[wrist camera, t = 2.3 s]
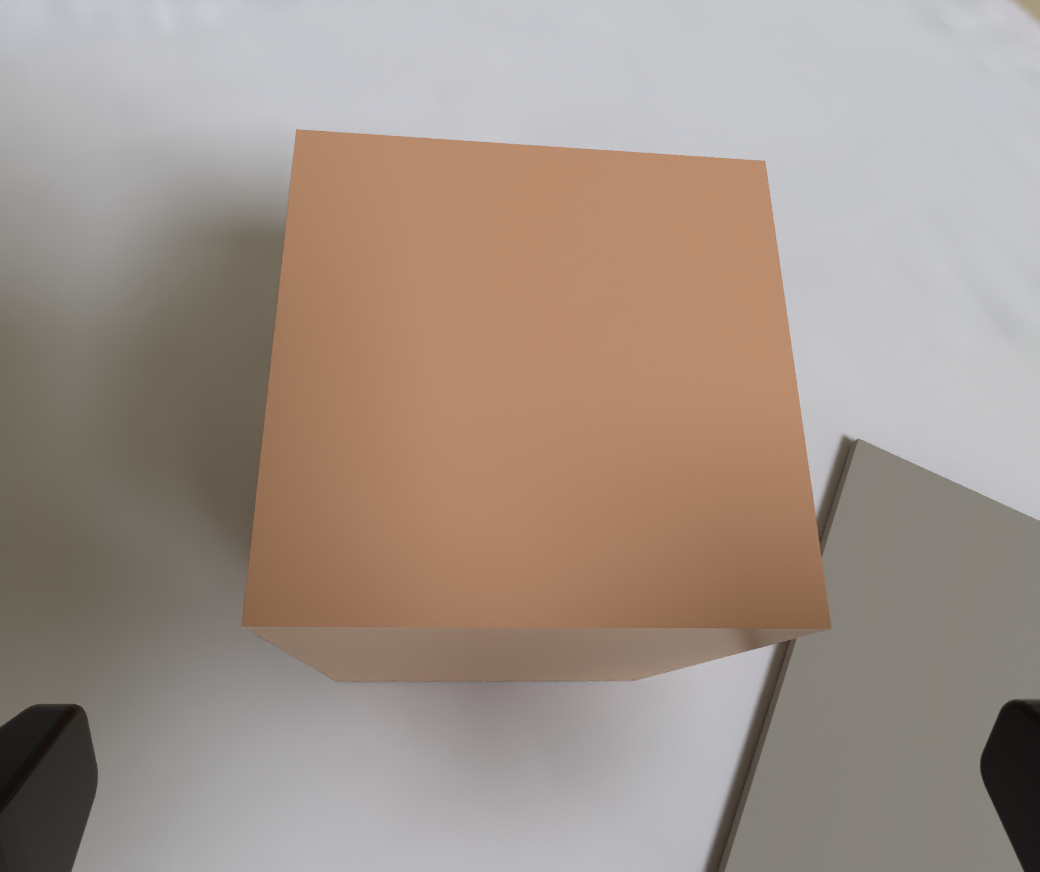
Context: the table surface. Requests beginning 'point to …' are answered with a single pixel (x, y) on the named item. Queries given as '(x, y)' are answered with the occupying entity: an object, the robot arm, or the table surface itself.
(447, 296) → the tan cardboard box
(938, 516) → the rubber mat
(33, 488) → the table surface
